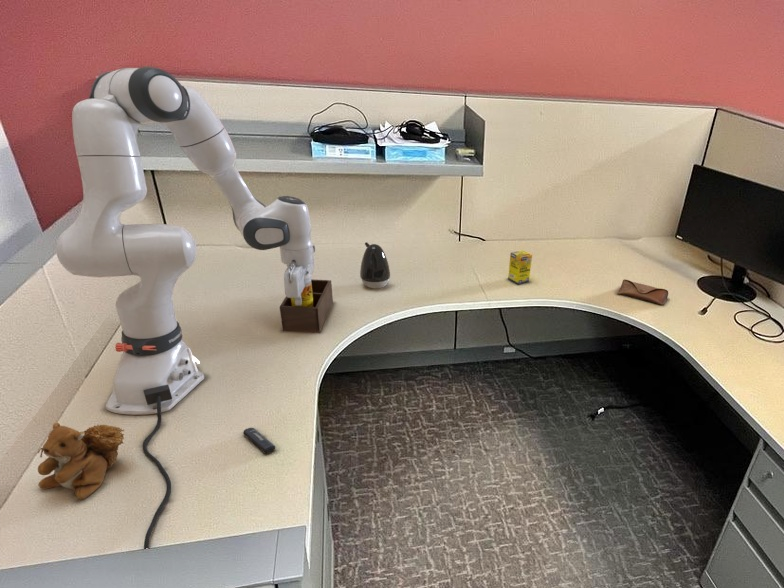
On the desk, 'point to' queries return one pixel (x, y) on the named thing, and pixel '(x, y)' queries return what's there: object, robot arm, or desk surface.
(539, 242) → the desk surface
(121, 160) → the robot arm
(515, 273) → the supplement box
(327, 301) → the box
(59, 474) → the stuffed squirrel
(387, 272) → the black egg-shaped figure
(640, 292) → the sunglasses case
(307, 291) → the beer can
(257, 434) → the usb stick
